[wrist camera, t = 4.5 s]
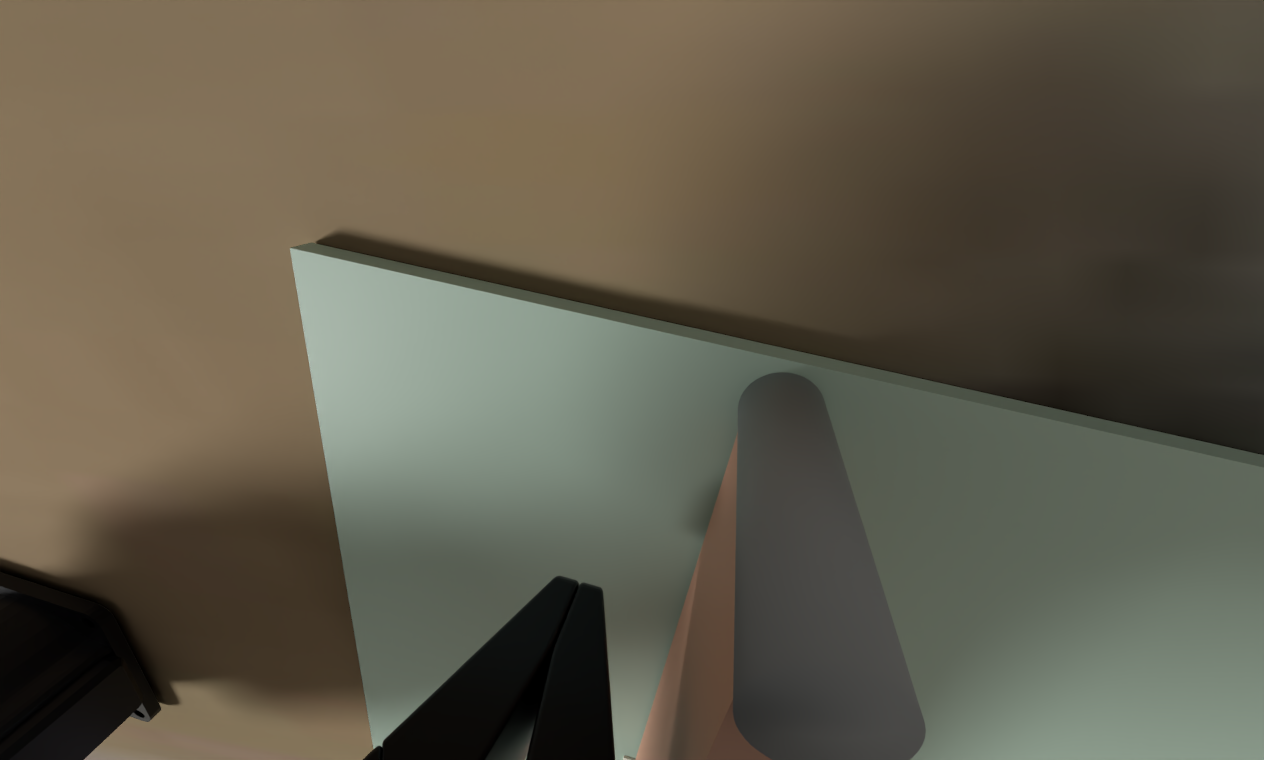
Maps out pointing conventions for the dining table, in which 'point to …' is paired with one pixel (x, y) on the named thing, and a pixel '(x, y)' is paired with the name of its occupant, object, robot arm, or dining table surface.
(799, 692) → the salmon brown flat block
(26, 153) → the dining table surface
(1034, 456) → the card
